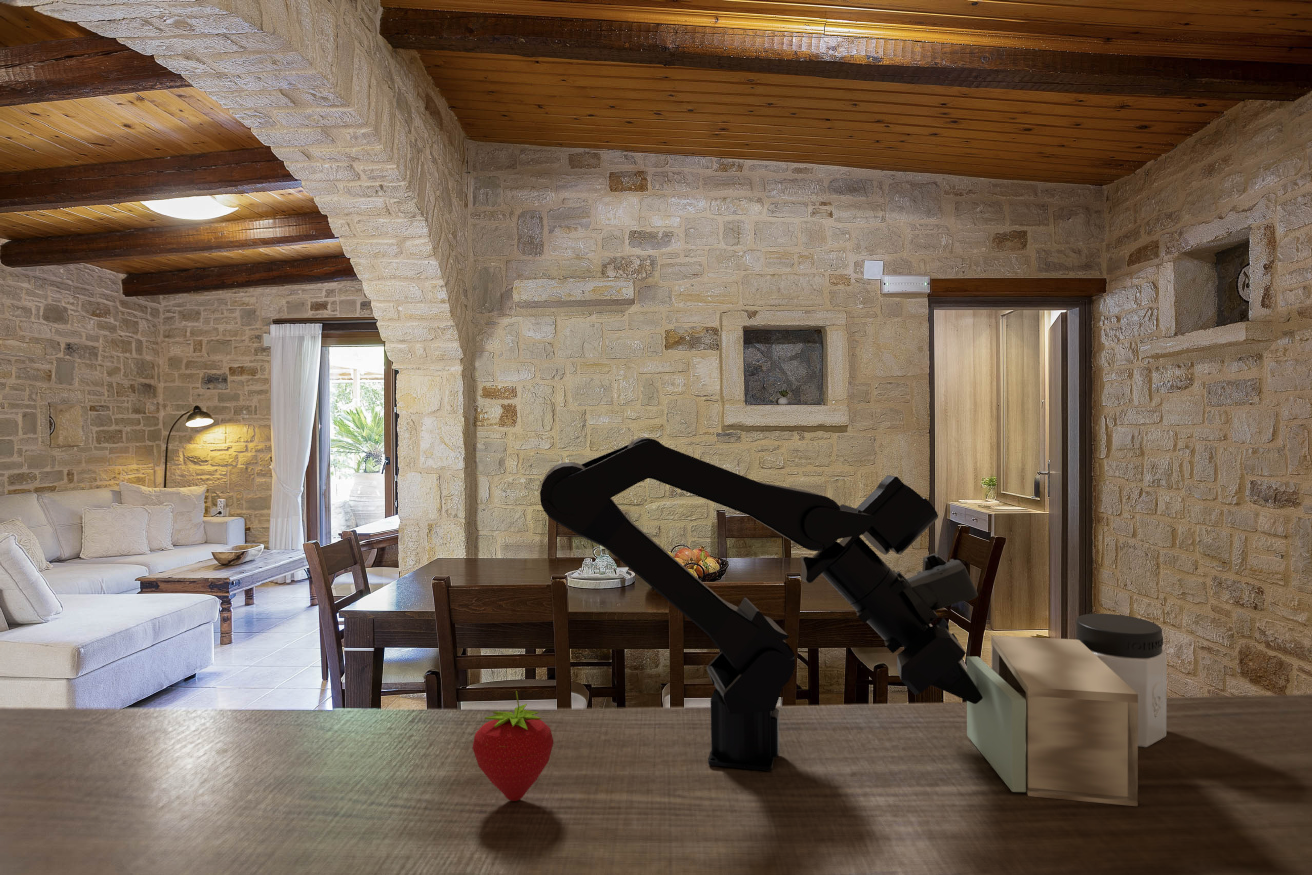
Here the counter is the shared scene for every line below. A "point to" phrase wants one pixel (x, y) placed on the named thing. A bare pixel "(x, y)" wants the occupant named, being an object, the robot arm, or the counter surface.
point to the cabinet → (1072, 720)
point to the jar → (1132, 664)
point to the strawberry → (513, 750)
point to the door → (998, 724)
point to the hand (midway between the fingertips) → (977, 697)
